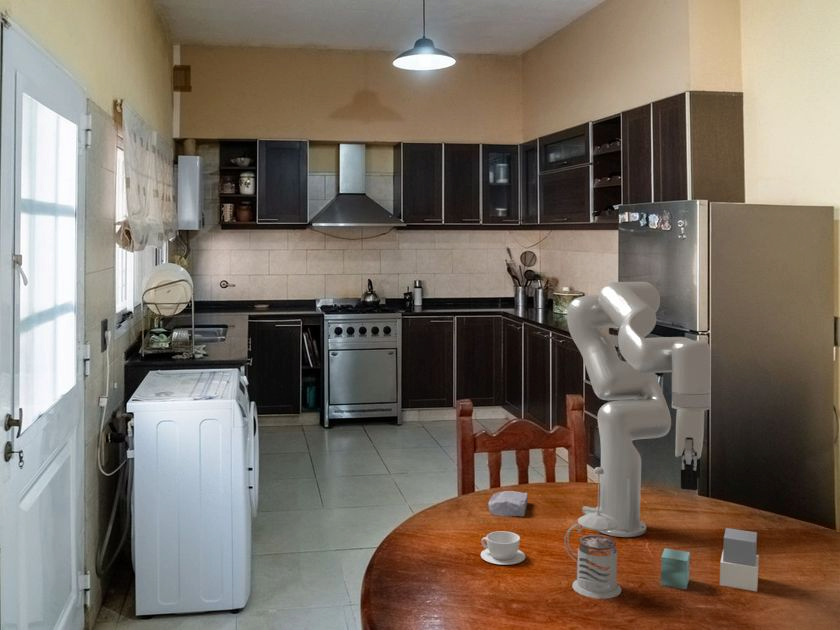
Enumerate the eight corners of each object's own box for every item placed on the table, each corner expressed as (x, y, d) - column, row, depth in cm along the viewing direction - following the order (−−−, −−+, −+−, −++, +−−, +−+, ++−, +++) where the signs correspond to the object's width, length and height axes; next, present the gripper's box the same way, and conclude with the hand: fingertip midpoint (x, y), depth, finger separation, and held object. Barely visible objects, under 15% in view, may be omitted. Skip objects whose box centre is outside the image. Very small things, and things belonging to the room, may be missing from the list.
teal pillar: (660, 585, 159) (661, 556, 158) (663, 575, 163) (664, 548, 163) (686, 589, 157) (687, 561, 156) (688, 580, 161) (689, 552, 160)
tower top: (722, 561, 159) (723, 537, 158) (725, 550, 164) (725, 527, 163) (754, 566, 156) (755, 542, 155) (756, 555, 161) (757, 532, 161)
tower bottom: (719, 585, 159) (720, 562, 158) (722, 572, 165) (722, 549, 164) (756, 592, 156) (757, 568, 155) (757, 578, 162) (758, 555, 161)
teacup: (531, 553, 175) (531, 533, 175) (517, 570, 166) (517, 548, 166) (489, 545, 180) (489, 526, 179) (473, 562, 171) (473, 541, 170)
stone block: (489, 522, 199) (527, 517, 197) (485, 504, 199) (524, 499, 197) (493, 509, 211) (530, 504, 209) (490, 491, 211) (526, 486, 209)
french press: (612, 603, 151) (615, 477, 148) (556, 589, 157) (558, 468, 155) (628, 584, 159) (630, 464, 157) (573, 571, 165) (575, 456, 163)
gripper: (674, 394, 169) (674, 471, 170) (668, 406, 153) (668, 492, 154) (711, 395, 166) (711, 474, 167) (708, 408, 150) (708, 496, 151)
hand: (690, 483), depth 160 cm, fingers open, 9 cm apart
